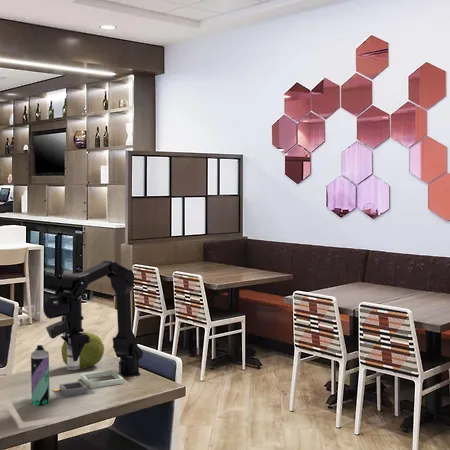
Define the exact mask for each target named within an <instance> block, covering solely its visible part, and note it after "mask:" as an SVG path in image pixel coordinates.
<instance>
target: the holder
mask: <svg viewBox="0 0 450 450" xmlns="http://www.w3.org/2000/svg"><path fill="white" fill-rule="evenodd" d="M51 391H52V392H53V394H54V395H55V396H56V397H57V399H58V400H62V399H67V398H76V397H81V396H89V395H95V394H96V393H95V392H94V390H92V388H89V387H88V386H87V385H86V384H85V383H84V382H83V381H82V380H81V381H80V380H79V381H74V382H67V383H66V382H65V383H59V388H55V389H52V390H51Z"/></svg>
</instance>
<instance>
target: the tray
mask: <svg viewBox="0 0 450 450" xmlns="http://www.w3.org/2000/svg"><path fill="white" fill-rule="evenodd" d="M107 376H112V377H113V379H108V380H99V381H94V382H93V381H91V380H90V379H93V378H94V379H95V378H101V377H107ZM114 378H115V379H114ZM80 379H81V382H82V383H83V384H84V385H87V386H88V387H89V388H90V389H94V388H95V389H96V388H101V387H107V386H115V385H123V384H125V377H123V376H122V375H121V374H120V373H119V372H117V371H115V370H114V369H109V370H108V369H107V370H101V371H95V372H93V371H92V372H87V373H80Z"/></svg>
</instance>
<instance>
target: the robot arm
mask: <svg viewBox="0 0 450 450" xmlns="http://www.w3.org/2000/svg"><path fill="white" fill-rule="evenodd" d="M103 277H106V278H108V279H109V280H110V283H111V288H112V289H113V291H114V293H115V296H116V297H115V298H116V315H117V317H116V318H117V333H116V334H115V336H114V337H113V338H112V349H114V350H113V351H114V352H115V355H116V358H119V361H118V374H119V375H120V376H121V377H122V378H127V377H133V376H139V375H140V376H141V372H140V359H142V358H143V355H144V351H143V350H142V349H141V348H140V347H139V345H138V339H137V337H136V335H135V334H134V332H133V327H132V325H133V323H132V309H131V292H132V289H133V287H134V286H135V272H134V271H132V269H128V268H127V267H125V266H123V265H120V264H119V263H117V262H116V261H113V260H102V262H100V263H98V264H96V265H94V266H91V267H90V268H88V269H85V270H83V271H81V272H76V273H74V272H73V273H70V274H69V273H68V274H65V275H63V276H62V277H61V279H60V282H59V285H58V286H57V288H56V290H55V292H54V294H53V296H49V297H47V301H46V302H45V303H44V305H43V313H44V316H45V317H46V318H47V319H49V320H50V319H51V320H52V319H55V318H60V317H61V320H60V321H57V322H55V323H52V324H50V325H48V326H46V332H47V334H48V336H49V337H50V339H56V338H57V337H58V336H60V335H61V336H60V338H61V339H62V340H63V342H64V341H65V342H66V345H68V344H69V345H70V346H71V350H72V356H73V361H77V360H78V358H79V355H80V353H81V351H82V349H83V347H84V345H85V344H86V343H90V337H89V336H88V335H87V334H85V333H86V332H85V331H84V328H83V327H82V325H83V323H82V321H83V320H84V315H82V313H83V310H82V309H83V306H82V305H83V304H82V301H83V300H82V299H86V298H87V295H85V293H83V292H84V291H85V290H87V288H88V287H89V285H90V284H92V283H93V282H95V281H98V280H100V279H101V278H103Z"/></svg>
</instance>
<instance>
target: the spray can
mask: <svg viewBox="0 0 450 450" xmlns="http://www.w3.org/2000/svg"><path fill="white" fill-rule="evenodd" d="M30 374H31V375H30V376H31V378H30V379H31V380H30V382H31V384H30V385H31V405H32V406H34V407H43V406H46V405H49V404H50V401H51V400H50V398H51V397H50V396H51V395H50V355H49V351H48V350H45V348H44V346H43V345H42V344H37V345H36V348H35V349H34V351H32V352H31V355H30Z"/></svg>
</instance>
